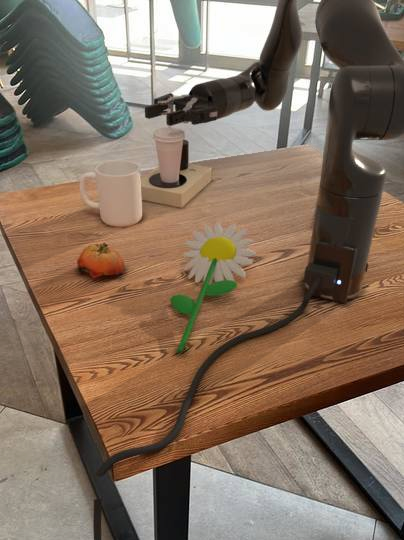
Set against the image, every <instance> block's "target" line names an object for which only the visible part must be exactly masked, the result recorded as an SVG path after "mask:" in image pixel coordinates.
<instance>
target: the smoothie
mask: <svg viewBox="0 0 404 540" xmlns="http://www.w3.org/2000/svg"><path fill="white" fill-rule="evenodd" d="M166 111H168V113H170V109H169V108H168V109H167V110H166ZM152 135H153V136H152V138H153V140H154V142H155V143H154V144H155V150H156V155H157V161H158V166H159V169H160V176H161V180H162V181H163V182H166V183H174V182H177V181H178V180H179V171H180V163H181V154H182V145H183V139H184V140H185V138H186V136H185V131H184V130H182V129H181V128H177V127H172V126H169V125H167V127H161V128H157V129H155V130H154V131H153V132H152Z"/></svg>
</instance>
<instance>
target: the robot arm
mask: <svg viewBox="0 0 404 540" xmlns="http://www.w3.org/2000/svg"><path fill="white" fill-rule="evenodd" d="M301 23H302V22H301V18H300V14H299V10H298V2H297V0H277V4H276V9H275V13H274V16H273V21H272V24H271V27H270V30H269V33H268V35H267V37H266V39H265V42H264V44H263V47H262V49H261V52H260V55H259V59H258V60H257V61H255V62H253V63H252V64H251V65H249V66H248V67H247V68H246V69H244V70H243V71H242V72H240V73H239V74H237V75H234V76H229V77H226V78H216V79H212V80H209V81H205V82H200V83H197V84H195V85H193V86H192V87H191V89H190V91H188V94H181V95H180V96H174V93H171V92H170V93H167V94H164V95H162V96H158V97H156V98H153V104H149V105H146V106H145V107H144V118H145V119H147V120H150V119H154V118H157V117H161V116H165V117H166V118H165V119H166V120H165V121H166V123H165V124H166V126H168V125H169V126H171V127H172V126H176V125H179V124H181V123H182V124H189V123H190V124H191V125H193V126H195V125H200V124H207V123H210V122H215V121H217V120H220V119H224V118H227V117H228V116H231V115H232V114H235V113H238V112H241V111H244V110H247V109H249V108H250V107H252V106H253V105H254V103H256V105H257V106H258V107H259V108H260V109H261V110H262V111H265V112H270V111H273V110H275V109H277V108H278V107H279V106H280V105H281V104H282V103H283V101H284V99H285V97H286V95H287V92H288V88H289V82H290V74H291V67H292V66H293V63H294V61H295V60H296V57H297V55H298V53H299V51H300V48H301V45H302V41H303V29H302V24H301ZM314 24H315V30H316V33H317V37H318V41H319V44H320V47H321V50H322V52H323V54H324V56H325V57H326V58H327V59H328V61H330V62H331V63H332V64H333V65H334V66H336V67H337V68H338V69H337V71H336V73H335V74H334V77H333V80H332V83H331V86H330V91H329V98H328V105H327V117H326V128H325V136H324V145H323V151H322V153H323V154H322V161H321V172H320V180H319V185H318V192H317V199H316V205H315V211H314V217H313V218H314V219H313V224H312V232H311V238H310V244H309V251H308V259H307V265H306V267H305V269H304V275H303V284H304V287H305V288H306V290H307V292H306V294H305V295H304V297H303V299H302V302H301V304H300V305H299V306H298V307H297V308H296V310H295V311H293V312H292V313H291V314H289V316H287V317H285V318H283V319H280V320H279V321H277V322H274V323H272V324H270V325H268V326H264V327H262V328H258V329H255V330H251V331H248V332H244V333H241V334H239V335H237V336H235V337H233V338H231V339H230V340H228V341H226V342H225V343H223V344H222V345H220V346H218V348H216V349H215V350H213V352H212V353H211V354H210V355H208V356H207V358H206V359H205V360H204V362H203V363H202V364H201V365H200V366H199V368H198V369H197V371H196V373H195V375H194V377H193V379H192V382H191V383H190V385H189V389H188V391H187V393H186V394H185V395H186V396H185V397H184V399H183V401H182V404H181V407H180V409H179V412H178V416H177V418H176V422H175V424H174V426H173V428H172V429H171V431H170V432H168V434H167V435H165V437H163V438H162V439H161V440H159V441H158V442H155V443H152V444H147V445H143V446H136V447H132V448H127V449H124V450H121V451H118V452H116V453H114V454H112V455H111V456H109V457H108V458H107V459H106V460H105V461H104V462H103V463H102V464H101V465H100V466H99V468H98V470H97V471H96V474H95V475H96V476H97V477H99V478H100V477H103V476H105V475H106V473H107V472H108V471H109V469H110V468H112V467H113V466H114V465H115V464H117V463H118V462H120V461H122V460H125V459H128V458H132V457H137V456H142V455H147V454H148V455H149V454H152V453H156V452H158V451H160V450H162V449H164V448H166V447H167V446H169V445H170V444H171V443H172V442H174V440H175V439H176V438H177V437H178V435H179V434H180V432H181V430H182V428H183V427H184V423H185V420H186V418H187V415H188V412H189V409H190V405H191V403H192V401H193V399H194V396H195V394H196V392H197V389H198V387H199V384H200V382H201V379H202V378H203V376H204V374H205V372H206V371H207V370H208V368H209V367H210V366H211V365H212V364H213V363H214V362H215V361H216V360H217V358H218V357H219V356H220V355H223V353H225V352H226V351H228V350H229V349H231V348H232V347H234V346H236V345H237V344H240V343H241V342H243V341H246V340H249V339H253V338H256V337H260V336H263V335H265V334H269V333H271V332H273V331H275V330H277V329H280V328H283V327H284V326H286V325H288V324H290V323H291V322H293V321H294V320H295V319H297V318H298V317H299V316H300V315H301V314H302V313H303V312H304V311H305V309H306V308H307V307H308V305H309V303H310V300H311V298H312V297H315V298H320V299H324V300H328V301H332V302H335V303H336V302H337V303H341V304H346V303H347V301H348V300H353V299H355V298H357V297H358V296H359V295H361V293H362V290H363V282H364V280H365V279H364V278H365V275H366V274H368V269H369V263H368V260H369V256H370V252H371V251H370V250H371V246H372V242H373V237H374V232H375V229H376V223H377V220H378V215H379V210H380V206H381V203H382V197H383V193H384V189H385V185H386V180H387V171H386V169H385V167H384V166H383V165H382V164H380V163H379V162H378V161H376V160H374V159H371V158H369V157H367V156H364V155H361V154H360V153H357V152H356V151H355V150H353V142H354V141H388V140H394V139H399V138H401V137H402V136H404V58H403V56H402V55H401V53H400V52H399V51H398V49H397V48H396V46H395V45H394V43H393V41H392V40H391V38H390V37H389V34H388V31H386V28H385V26H384V24H383V22H382V19H381V15H380V12H379V10H378V8H377V6H376V3H375V1H374V0H320V2H319V4H318V6H317V8H316V12H315V20H314ZM168 108H169V109H170V113H168V111H167V109H168ZM365 273H366V274H365ZM102 511H103V499H102V498H96V499H93V520H92V521H93V522H92V523H93V525H92V526H93V527H92V528H93V540H102Z"/></svg>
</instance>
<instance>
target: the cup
mask: <svg viewBox="0 0 404 540" xmlns="http://www.w3.org/2000/svg"><path fill="white" fill-rule="evenodd" d="M94 170H95V172H93V171H87V172H85V173H83V174H82V175H81V177H80V179H79V194H80V197H81V200H82V202H83V203H84V205H86V206H87V207H89V208H91V209H94V210H99V216H100V219H101V221H102V222H103V223H104V224H105V225H107V226H110V227H116V228H123V227H131V226H133V225H136V224H138V223H139V222H140V221H141V220H142V217H143V200H142V198H141V179H142V178H141V166H140V165H139V164H138V163H137V162H134V161H132V160H127V159H112V160H106V161H103V162H101V163H98V164H97V165H96V166H95V168H94ZM87 180H93V181H96V189H97V200H98V202H95V201H91V200H90V199H89V197H88V196H87V192H86V182H87Z"/></svg>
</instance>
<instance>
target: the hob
mask: <svg viewBox="0 0 404 540" xmlns="http://www.w3.org/2000/svg"><path fill="white" fill-rule="evenodd" d="M212 169H213V168H212V167H210V166H205V165H198V164H193V163H189V167H188V169H186V170H180V171H179V174H182V175H184V176H185V177H186V178H187V182H186V183H185V184H184V185H182V186H180V187H176V188H160V187H156V186H153V185H151V184H150V183H149V178H150V177H151V176H152V175H154V174H157V173H160V169H159V165H158V166H157V167H155V168H154V169H152V171H150V172H148V173H147V174H146V175H145V176H143V177H142V178H140V179H141V198H142V201H146V202H151V203H157V204H161V205H166V206H170V207H176V208H181V209H182V208H183V207H184V206H186V204H188V203H189V202H190V201H191V200H192V199H193V198H194V197H195V196H196V195H197V194H198V193H199V192H201V191H202V190H203V189H204V188H205V187H206V186H207V185H208V184H209V183H210V182H212Z"/></svg>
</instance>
